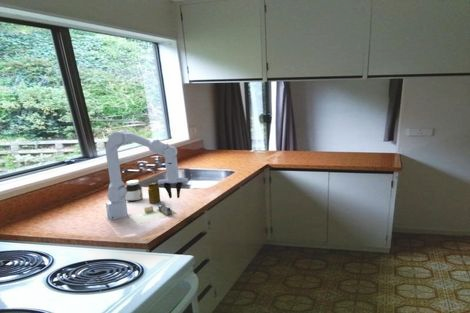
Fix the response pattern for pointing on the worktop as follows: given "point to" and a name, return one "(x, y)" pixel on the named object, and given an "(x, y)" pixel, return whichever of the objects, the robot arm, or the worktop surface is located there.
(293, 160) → the worktop surface
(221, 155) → the worktop surface
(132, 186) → the spread jar
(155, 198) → the condiment
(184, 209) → the worktop surface
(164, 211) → the latch bar
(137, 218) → the door board
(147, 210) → the block
